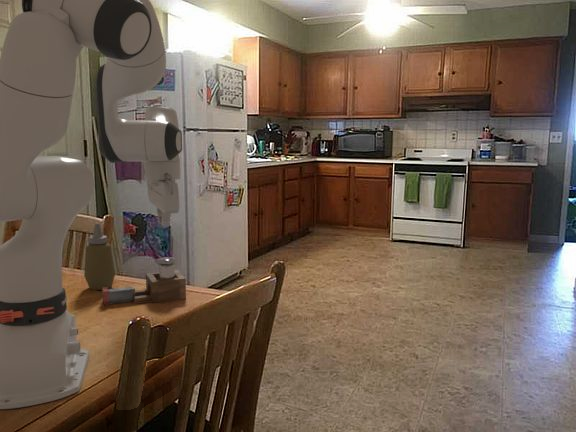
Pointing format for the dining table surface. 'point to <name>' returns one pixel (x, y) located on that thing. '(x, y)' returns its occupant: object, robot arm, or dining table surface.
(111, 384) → the dining table surface
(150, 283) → the box
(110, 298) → the grey rectangular block
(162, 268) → the grey cylindrical piece
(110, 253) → the squeeze bottle
